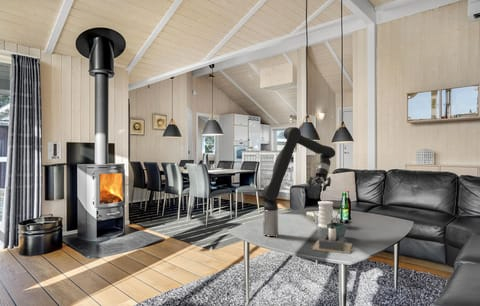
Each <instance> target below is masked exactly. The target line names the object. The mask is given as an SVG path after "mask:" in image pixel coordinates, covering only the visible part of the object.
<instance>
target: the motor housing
mask: <svg viewBox="0 0 480 306" xmlns="http://www.w3.org/2000/svg"><path fill="white" fill-rule="evenodd" d="M352 247H353V243H347V242H346V236H344V237H340V236H336V241H332V240H329V234H322V235H321V237H320V238H319V239H317V240H316V242H315V243H314V245H313V246H312V247H311V249H312V250H313V251H320V252H321V251H323V252H329V253H340V254H347V255H348V254H349V255H351V251H352Z"/></svg>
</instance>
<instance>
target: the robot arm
mask: <svg viewBox="0 0 480 306" xmlns="http://www.w3.org/2000/svg"><path fill="white" fill-rule="evenodd" d="M301 133H302V132H301V129H300V128H299V127H297V126H293V127H291V126H290V127H286V128H285V129H284V131H283V137H284V139H285V140H286V142H285V144H284V146H283V147H282V149H281V150H280V152H279V153H278V155H277V156H276V158H275V162H274V164H273V169H272V176H271V179H270V181H269V184H268V185H266V186H264V188H263V190H262V203H263V214H264V215H263V217H264V218H263V223H262V225H263V226H262V227H263V229H262V230H263V235H264V234H265V235H269V236H276V235H278V236H279V206H278V202H277V201H278V199H277V198H279V194H280V191H281V186H282V183H283V180H284V178H285V175H286V173H287V170H288V168H289V167H290V162H291V160H292V157H293V155H294V151H295V150H296V147H297V145H301V146H303V147H304V148H306V149H308V150H310V151H311V152H313V153H315V154H317V155H319V160H320V161H319V163H318V166H317V168H316V172H315V176H314V177H313V176H310V177H309V178H308V182H307V184H308V186H309V187H308V189H309V191H312V190H313V189H314V186H316V185H319V184H320V185H323V186H322V192H325V191H326V189H327V187H331V182H332V179H331V176H329V172H330V166H331V164H332V162H331V160H330V159H332V158H334V157H335V156H336V150H335V149H334V148H333V147H332V146H328V145H324V144H321V143H320V142H317V141H315V140H314V139H311V138H308V137H306V136H304V135H302V134H301ZM326 181H327V182H326ZM276 237H277V236H276Z"/></svg>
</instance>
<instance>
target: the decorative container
mask: <svg viewBox="0 0 480 306" xmlns="http://www.w3.org/2000/svg"><path fill="white" fill-rule="evenodd" d="M317 204H318V222H319V223H317V227H318V226H319V227H318V228H320V227H321V228H320V229H327V224H330V223H331V220H333V219H334V215H333V213H334V210H333V209H334V208H333V205H334V202H333V201H327V200H322V201H320V200H319V201H317ZM333 221H334V220H333Z"/></svg>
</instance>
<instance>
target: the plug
mask: <svg viewBox="0 0 480 306" xmlns="http://www.w3.org/2000/svg"><path fill="white" fill-rule="evenodd" d="M333 222H334V220H331V225H330V228H329V233H328V235H329V240H332V241H336V228H334V225H333Z"/></svg>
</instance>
